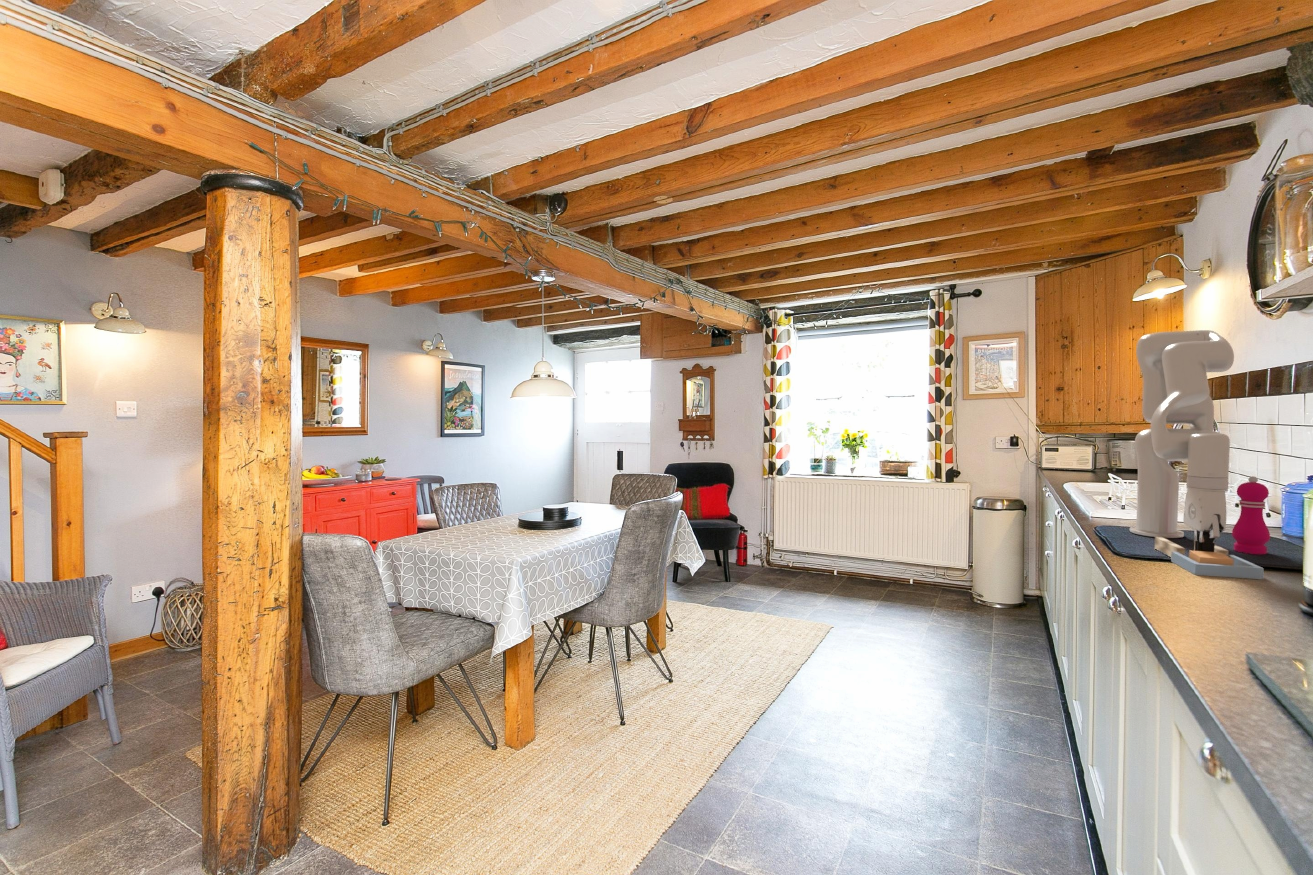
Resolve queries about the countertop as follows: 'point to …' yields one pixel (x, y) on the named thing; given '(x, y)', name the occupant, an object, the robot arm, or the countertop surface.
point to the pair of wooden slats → (1178, 547)
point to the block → (1210, 557)
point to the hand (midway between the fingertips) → (1204, 557)
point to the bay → (1220, 567)
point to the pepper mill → (1251, 519)
